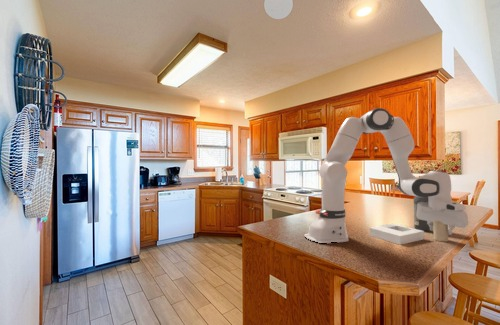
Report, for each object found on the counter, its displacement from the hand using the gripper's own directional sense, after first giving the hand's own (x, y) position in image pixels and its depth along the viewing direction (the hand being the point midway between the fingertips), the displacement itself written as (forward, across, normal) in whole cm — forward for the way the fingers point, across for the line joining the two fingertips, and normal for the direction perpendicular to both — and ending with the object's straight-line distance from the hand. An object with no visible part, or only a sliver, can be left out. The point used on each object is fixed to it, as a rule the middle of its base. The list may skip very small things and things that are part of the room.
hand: (440, 232), depth 112 cm
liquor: (+4, -14, +12) cm, 19 cm away
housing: (+4, -12, -15) cm, 20 cm away
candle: (+4, 0, 0) cm, 4 cm away
